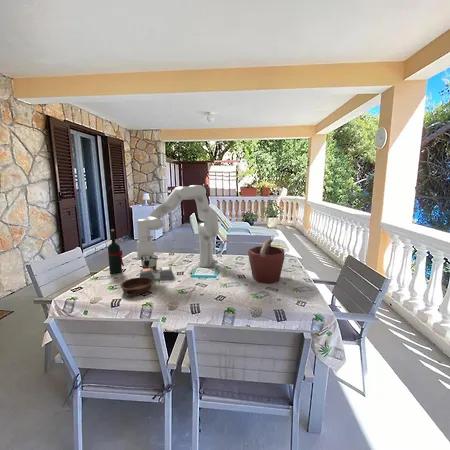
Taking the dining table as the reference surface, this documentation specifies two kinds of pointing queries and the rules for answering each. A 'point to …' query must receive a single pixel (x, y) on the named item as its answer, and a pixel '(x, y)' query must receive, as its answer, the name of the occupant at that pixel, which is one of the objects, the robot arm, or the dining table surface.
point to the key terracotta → (146, 270)
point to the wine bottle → (114, 256)
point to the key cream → (165, 268)
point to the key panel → (157, 274)
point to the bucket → (266, 262)
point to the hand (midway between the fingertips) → (147, 266)
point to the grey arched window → (151, 263)
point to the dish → (136, 286)
